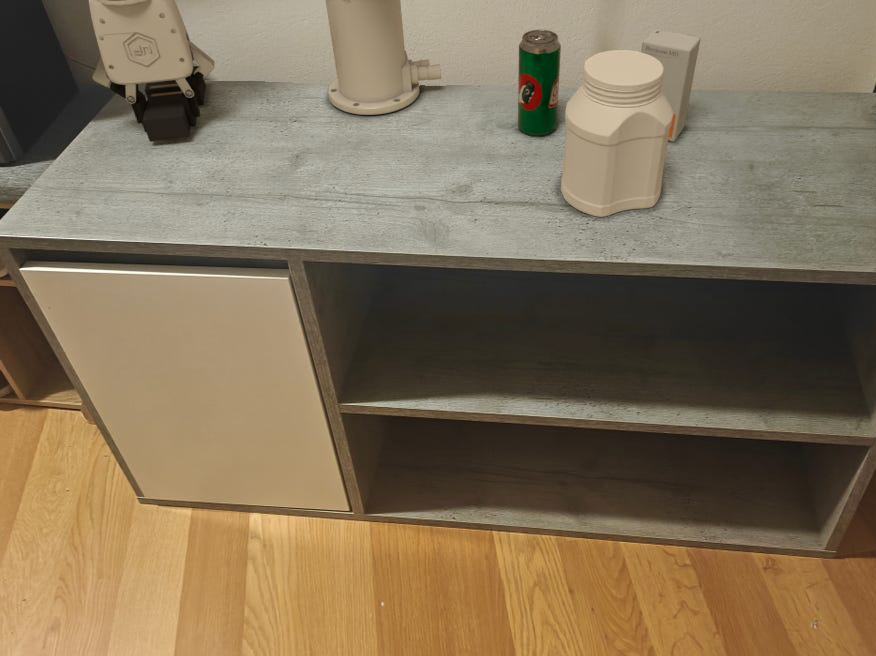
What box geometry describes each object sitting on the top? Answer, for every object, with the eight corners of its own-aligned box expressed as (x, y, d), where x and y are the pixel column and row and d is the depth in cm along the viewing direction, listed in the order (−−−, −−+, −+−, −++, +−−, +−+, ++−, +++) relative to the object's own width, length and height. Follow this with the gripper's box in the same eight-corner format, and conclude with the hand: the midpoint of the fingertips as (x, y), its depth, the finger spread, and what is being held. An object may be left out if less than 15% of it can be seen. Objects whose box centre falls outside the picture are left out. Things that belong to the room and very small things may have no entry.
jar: (638, 161, 98) (654, 40, 88) (673, 203, 92) (695, 78, 81) (549, 177, 96) (555, 55, 86) (579, 222, 90) (589, 96, 79)
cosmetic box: (629, 133, 103) (640, 41, 95) (640, 118, 106) (652, 27, 98) (675, 143, 101) (690, 50, 93) (685, 128, 104) (701, 36, 95)
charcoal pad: (206, 85, 115) (200, 64, 113) (203, 105, 111) (197, 84, 109) (155, 90, 114) (149, 69, 112) (151, 110, 110) (144, 89, 108)
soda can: (557, 137, 103) (562, 45, 94) (517, 138, 103) (519, 46, 95) (555, 118, 106) (560, 27, 98) (517, 118, 107) (518, 28, 98)
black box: (193, 111, 108) (186, 89, 106) (189, 137, 103) (182, 115, 101) (154, 115, 108) (147, 93, 105) (149, 142, 103) (141, 119, 101)
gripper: (41, -1, 89) (100, 146, 102) (199, -15, 91) (237, 131, 104) (54, -25, 94) (108, 118, 107) (202, -38, 96) (238, 104, 109)
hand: (171, 123), depth 105 cm, fingers closed on black box, 5 cm apart
